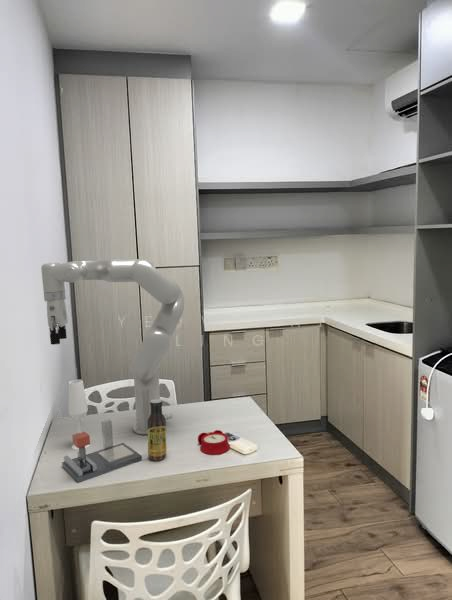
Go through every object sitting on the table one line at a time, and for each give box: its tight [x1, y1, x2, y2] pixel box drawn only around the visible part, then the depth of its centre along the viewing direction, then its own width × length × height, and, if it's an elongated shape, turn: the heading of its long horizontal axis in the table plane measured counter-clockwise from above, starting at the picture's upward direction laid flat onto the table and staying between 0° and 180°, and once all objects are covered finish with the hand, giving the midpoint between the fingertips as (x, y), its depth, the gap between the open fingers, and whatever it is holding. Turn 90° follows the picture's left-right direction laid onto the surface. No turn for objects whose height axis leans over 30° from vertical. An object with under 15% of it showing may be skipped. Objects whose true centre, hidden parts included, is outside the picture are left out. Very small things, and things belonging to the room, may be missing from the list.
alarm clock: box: [197, 429, 231, 456], centre depth 165 cm, size 10×6×15 cm
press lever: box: [71, 431, 91, 473], centre depth 148 cm, size 4×5×11 cm
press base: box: [61, 419, 143, 484], centre depth 155 cm, size 22×14×12 cm, turn 128°
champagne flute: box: [68, 379, 91, 450], centre depth 169 cm, size 7×7×24 cm
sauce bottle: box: [147, 398, 167, 462], centre depth 158 cm, size 6×6×20 cm
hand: (59, 341), depth 176 cm, fingers open, 9 cm apart
